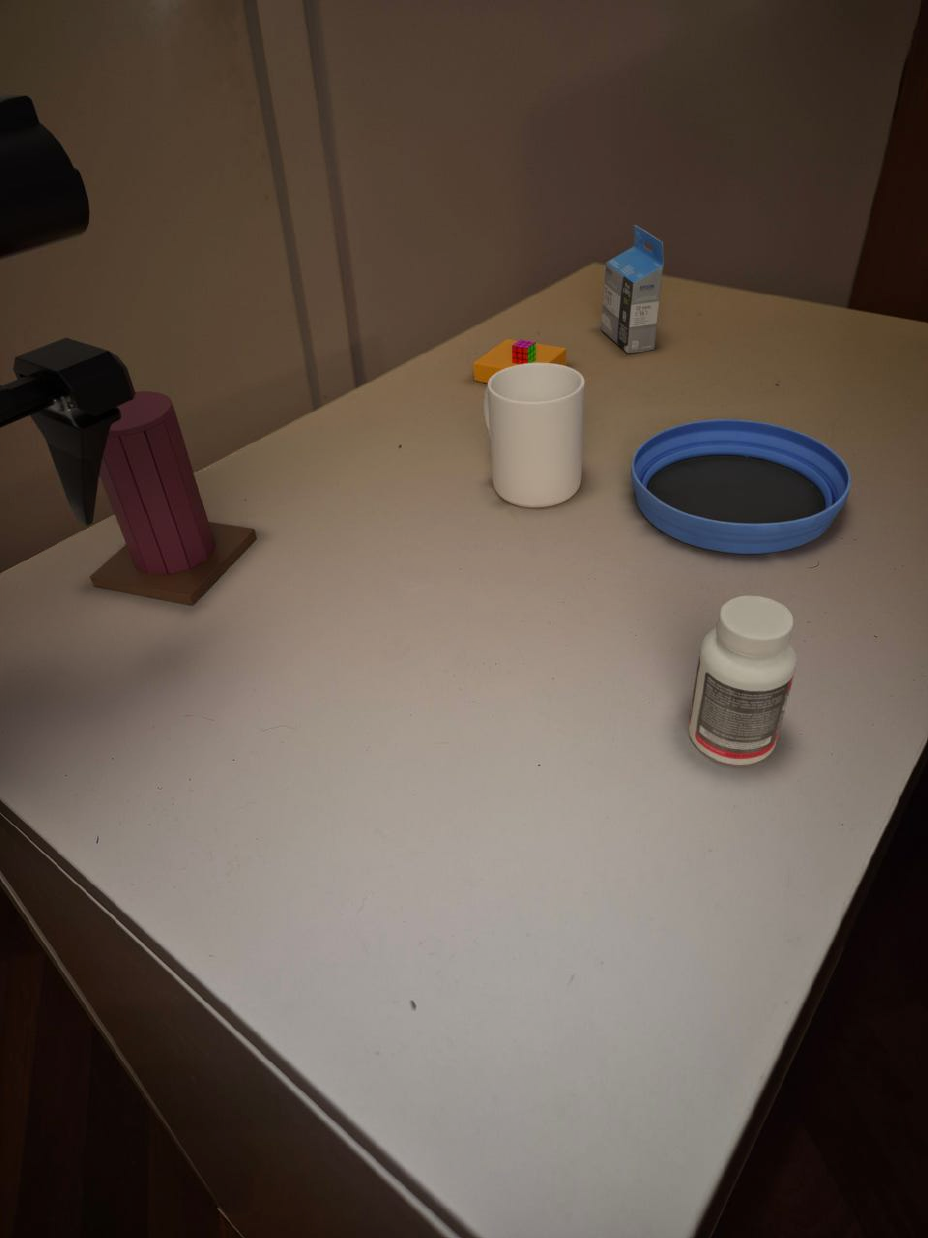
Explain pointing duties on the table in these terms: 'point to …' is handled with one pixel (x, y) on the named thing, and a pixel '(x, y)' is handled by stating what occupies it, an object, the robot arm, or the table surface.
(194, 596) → the hat stand
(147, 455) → the maroon grooved cylinder
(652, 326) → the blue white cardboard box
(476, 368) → the orange slab with cube
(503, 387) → the mug
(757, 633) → the pill bottle
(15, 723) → the table surface
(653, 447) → the bowl
